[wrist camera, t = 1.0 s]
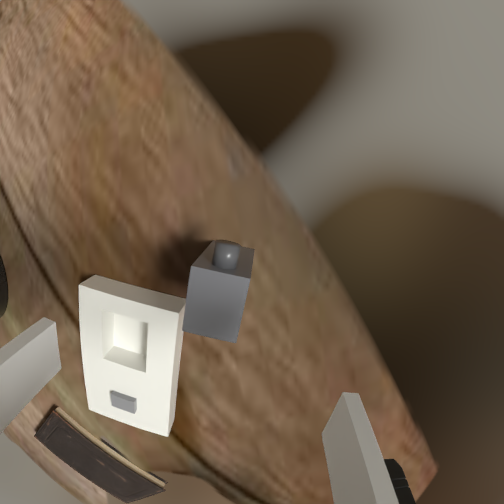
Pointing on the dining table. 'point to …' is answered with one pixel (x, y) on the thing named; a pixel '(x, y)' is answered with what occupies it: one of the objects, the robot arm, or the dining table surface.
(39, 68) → the dining table surface
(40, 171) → the dining table surface
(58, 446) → the hardcover book
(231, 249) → the plug
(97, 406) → the socket
